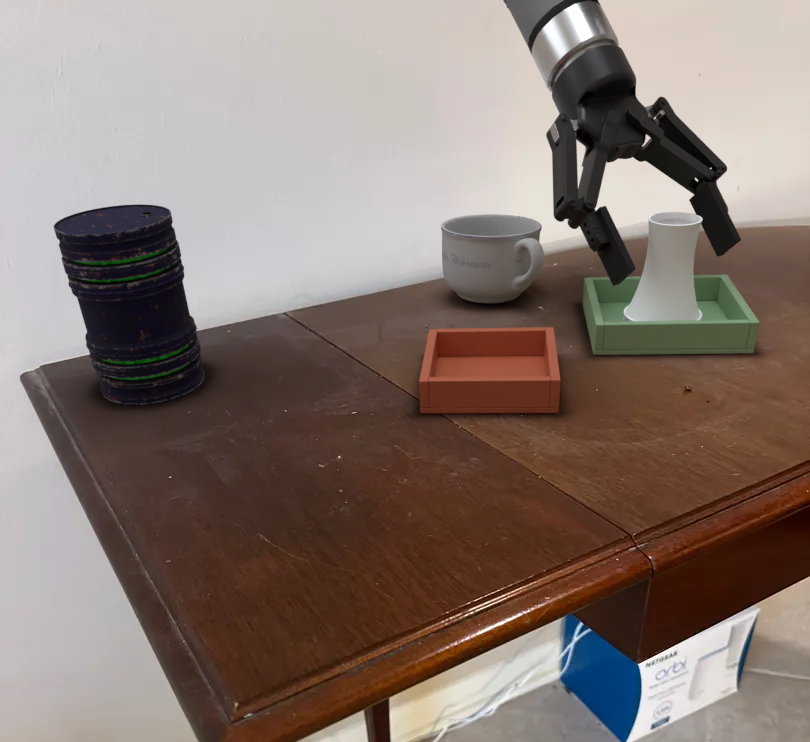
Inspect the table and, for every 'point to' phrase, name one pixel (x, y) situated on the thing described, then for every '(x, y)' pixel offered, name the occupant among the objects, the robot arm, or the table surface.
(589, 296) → the green tray
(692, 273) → the vase
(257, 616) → the table surface
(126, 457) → the table surface
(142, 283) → the dark blue cylinder
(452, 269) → the teacup
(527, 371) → the terracotta tray
